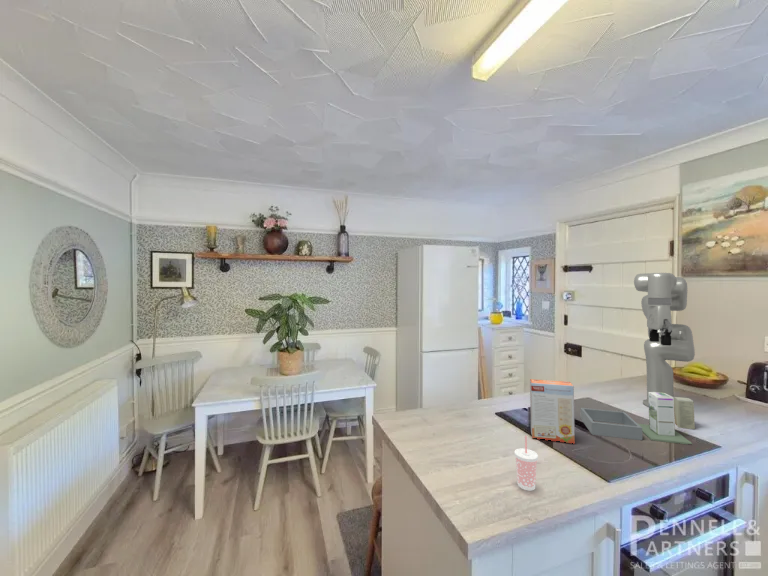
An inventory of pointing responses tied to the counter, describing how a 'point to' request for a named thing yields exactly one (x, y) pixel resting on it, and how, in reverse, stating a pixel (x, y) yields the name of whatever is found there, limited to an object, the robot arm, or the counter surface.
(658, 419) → the syrup box
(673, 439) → the mat
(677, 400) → the box
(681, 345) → the robot arm
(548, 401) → the cracker box
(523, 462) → the beverage cup
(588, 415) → the parts bin
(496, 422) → the counter surface
